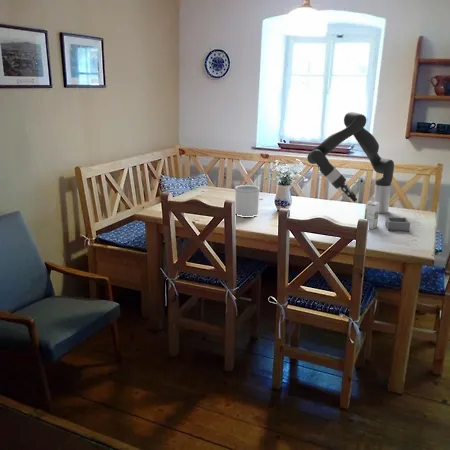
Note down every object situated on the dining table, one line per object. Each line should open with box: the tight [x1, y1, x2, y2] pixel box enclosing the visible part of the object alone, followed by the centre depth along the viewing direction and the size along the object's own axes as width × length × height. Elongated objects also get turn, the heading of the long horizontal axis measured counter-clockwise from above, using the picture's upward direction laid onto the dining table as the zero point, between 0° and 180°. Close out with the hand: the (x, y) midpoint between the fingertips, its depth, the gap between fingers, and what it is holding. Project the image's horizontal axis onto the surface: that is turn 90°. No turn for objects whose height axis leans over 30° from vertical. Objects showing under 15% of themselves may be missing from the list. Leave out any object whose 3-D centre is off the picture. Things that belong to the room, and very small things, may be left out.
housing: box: [384, 216, 411, 233], centre depth 261 cm, size 11×11×5 cm
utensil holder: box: [234, 184, 260, 216], centre depth 288 cm, size 15×15×18 cm
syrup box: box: [364, 200, 380, 230], centre depth 262 cm, size 6×6×14 cm
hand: (355, 199), depth 261 cm, fingers open, 8 cm apart
